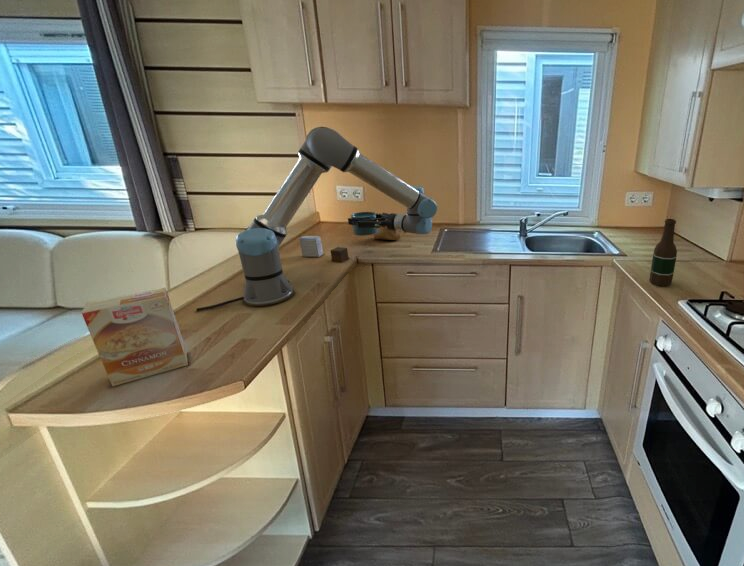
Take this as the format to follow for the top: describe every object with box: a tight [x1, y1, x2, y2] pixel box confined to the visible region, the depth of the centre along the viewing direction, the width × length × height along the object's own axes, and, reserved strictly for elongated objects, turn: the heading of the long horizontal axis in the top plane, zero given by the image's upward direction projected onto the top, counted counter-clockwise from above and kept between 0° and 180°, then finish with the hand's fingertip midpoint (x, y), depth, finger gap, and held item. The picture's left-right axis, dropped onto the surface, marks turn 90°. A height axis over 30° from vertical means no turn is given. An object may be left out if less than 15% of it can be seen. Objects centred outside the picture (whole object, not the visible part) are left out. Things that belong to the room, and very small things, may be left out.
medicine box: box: [298, 235, 324, 258], centre depth 182 cm, size 8×4×9 cm, turn 84°
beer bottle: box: [649, 218, 678, 288], centre depth 146 cm, size 8×8×24 cm
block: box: [330, 246, 349, 263], centre depth 177 cm, size 5×5×5 cm
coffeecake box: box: [81, 287, 188, 387], centre depth 98 cm, size 15×7×20 cm, turn 126°
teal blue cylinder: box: [350, 211, 378, 237], centre depth 181 cm, size 11×11×8 cm
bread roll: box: [372, 226, 402, 241], centre depth 206 cm, size 10×15×8 cm, turn 72°
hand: (357, 218), depth 182 cm, fingers closed on teal blue cylinder, 11 cm apart
